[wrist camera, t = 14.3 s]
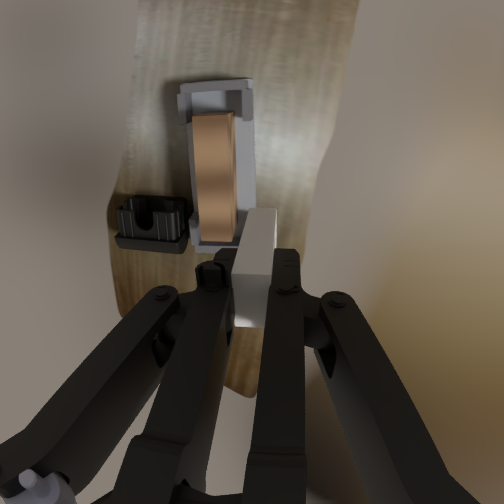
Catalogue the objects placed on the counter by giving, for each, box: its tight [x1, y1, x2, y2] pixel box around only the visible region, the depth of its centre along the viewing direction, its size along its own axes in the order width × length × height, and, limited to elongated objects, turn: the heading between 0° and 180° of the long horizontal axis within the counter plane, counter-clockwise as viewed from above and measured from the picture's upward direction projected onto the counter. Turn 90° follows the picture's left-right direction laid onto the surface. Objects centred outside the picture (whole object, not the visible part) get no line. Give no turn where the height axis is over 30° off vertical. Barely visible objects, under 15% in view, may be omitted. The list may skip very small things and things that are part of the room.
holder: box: [177, 79, 256, 253], centre depth 41 cm, size 24×9×4 cm, turn 2°
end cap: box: [115, 195, 189, 254], centre depth 45 cm, size 10×7×7 cm
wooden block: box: [192, 111, 238, 242], centre depth 40 cm, size 16×4×6 cm, turn 1°
